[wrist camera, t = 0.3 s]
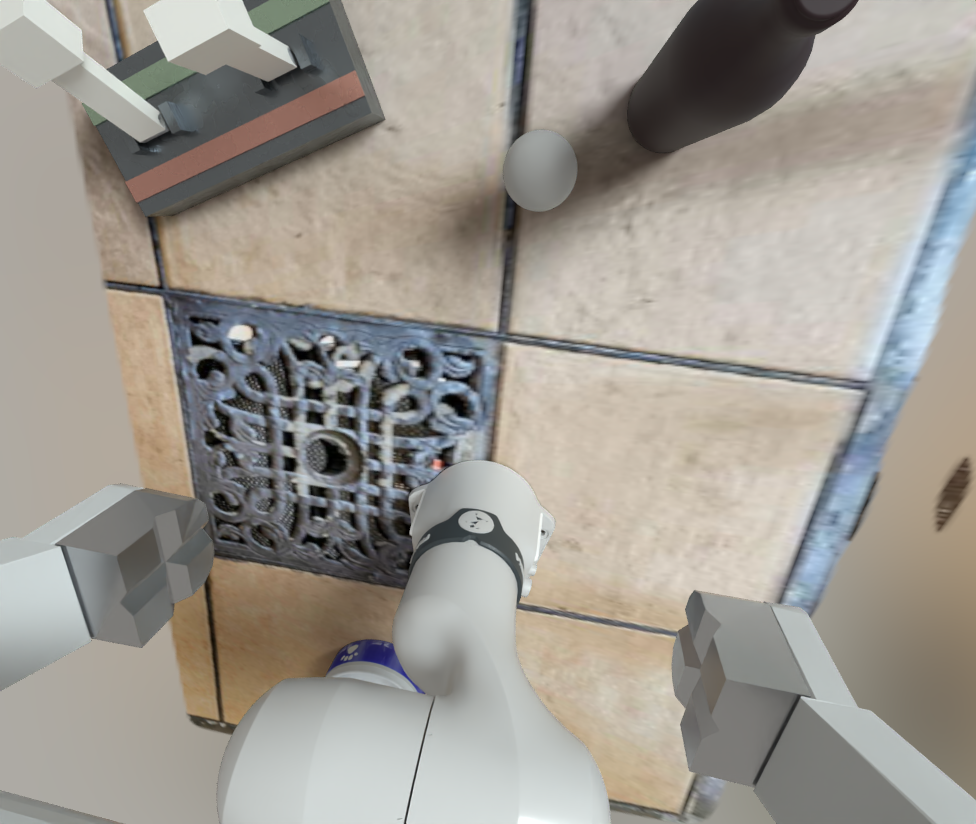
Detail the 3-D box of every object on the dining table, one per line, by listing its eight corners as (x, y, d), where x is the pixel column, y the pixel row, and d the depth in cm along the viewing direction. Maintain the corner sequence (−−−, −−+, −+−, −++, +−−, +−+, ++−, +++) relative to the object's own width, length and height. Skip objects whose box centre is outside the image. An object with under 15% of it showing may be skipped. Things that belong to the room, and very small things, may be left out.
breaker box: (385, 119, 49) (366, 110, 44) (172, 215, 55) (135, 217, 50) (331, -26, 45) (303, -54, 40) (108, 95, 51) (61, 84, 46)
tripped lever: (314, 73, 44) (229, 28, 33) (266, 96, 46) (168, 61, 34) (298, 34, 43) (204, -26, 32) (250, 59, 45) (143, 10, 33)
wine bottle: (721, 117, 46) (972, -5, 18) (651, 170, 48) (780, 132, 21) (682, 44, 44) (893, -214, 17) (611, 102, 46) (693, -40, 19)
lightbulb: (563, 216, 50) (565, 220, 40) (504, 201, 51) (491, 201, 40) (582, 149, 48) (589, 135, 38) (519, 133, 48) (510, 115, 38)
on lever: (181, 136, 47) (23, 15, 35) (139, 157, 48) (-28, 46, 36) (178, 109, 48) (22, -19, 36) (137, 130, 49) (-28, 13, 37)
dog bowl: (381, 622, 75) (367, 656, 69) (448, 686, 78) (440, 723, 73) (313, 662, 80) (295, 697, 74) (380, 721, 83) (367, 758, 78)
